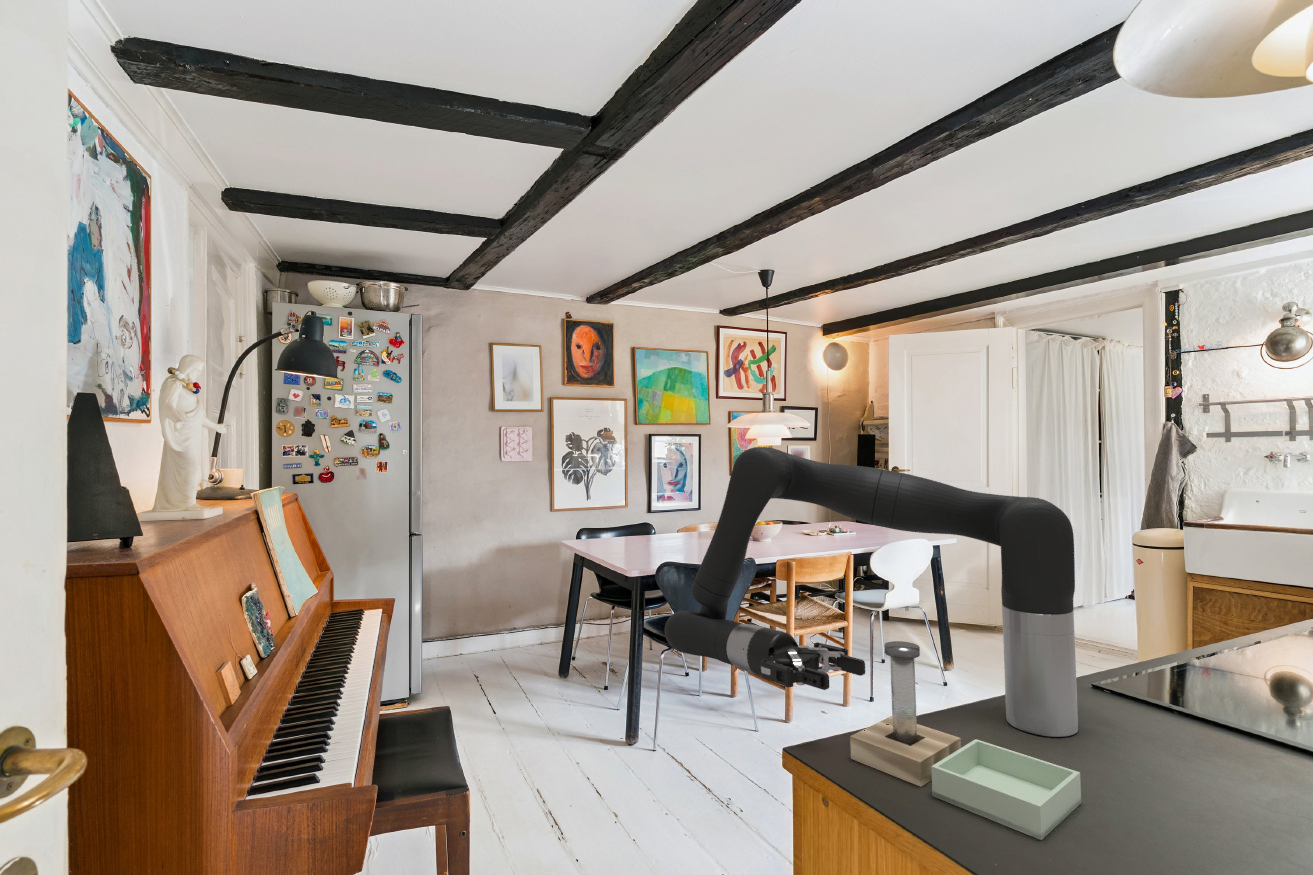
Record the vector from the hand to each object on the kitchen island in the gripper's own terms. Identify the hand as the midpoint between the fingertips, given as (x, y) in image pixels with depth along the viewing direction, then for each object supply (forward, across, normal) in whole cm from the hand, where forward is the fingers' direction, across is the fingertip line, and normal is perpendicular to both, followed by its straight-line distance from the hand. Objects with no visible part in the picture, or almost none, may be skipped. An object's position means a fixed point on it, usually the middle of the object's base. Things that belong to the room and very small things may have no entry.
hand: (846, 674), depth 96 cm
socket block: (+9, 0, +9) cm, 13 cm away
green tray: (+22, 0, +9) cm, 24 cm away
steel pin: (+9, 0, +9) cm, 13 cm away
